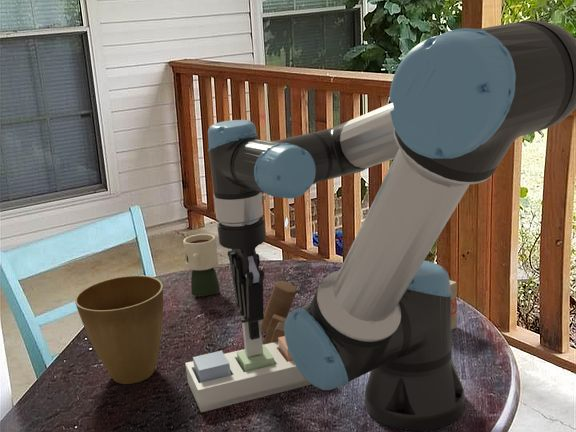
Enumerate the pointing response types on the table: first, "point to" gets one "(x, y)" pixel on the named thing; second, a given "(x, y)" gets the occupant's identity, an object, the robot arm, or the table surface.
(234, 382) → the key console
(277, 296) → the wooden block set
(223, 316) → the table surface
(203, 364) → the blue key
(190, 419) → the table surface
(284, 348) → the terracotta key
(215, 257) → the character mug
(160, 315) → the plant pot
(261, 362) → the sage key
